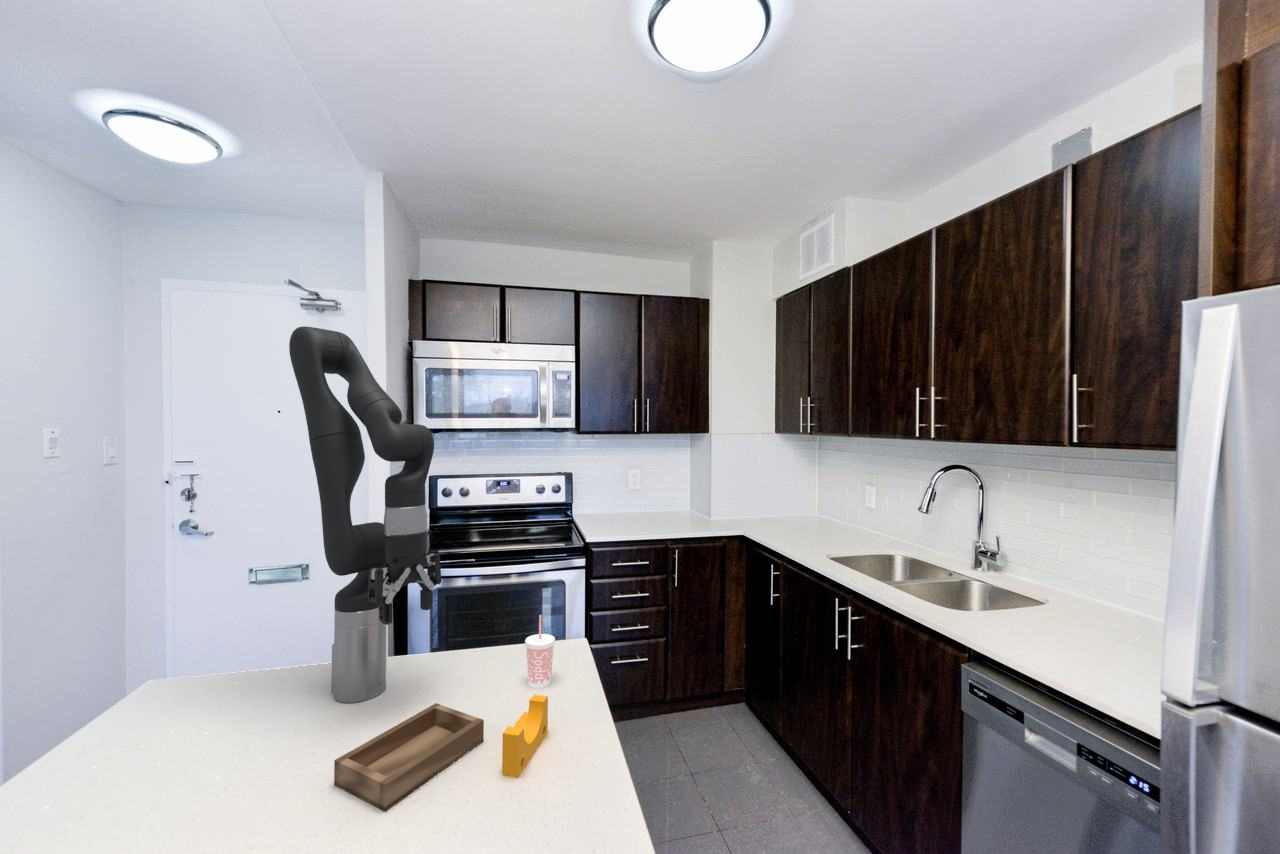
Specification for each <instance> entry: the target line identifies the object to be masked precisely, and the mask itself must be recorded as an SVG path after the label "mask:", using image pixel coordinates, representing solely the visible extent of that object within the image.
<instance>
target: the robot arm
mask: <svg viewBox="0 0 1280 854" xmlns="http://www.w3.org/2000/svg"><path fill="white" fill-rule="evenodd" d="M288 346H289V349H288V350H289V351H288V352H289V358H290V363H291V367H292V369H293V373H294V377H295V379H296V383H297V386H298V390H299V394H300V396H301V397H300V398H301V401H302V406H303V410H304V415H305V421H306V426H307V433H308V440H309V441H308V442H309V447H310V452H311V457H312V458H311V459H312V462H313V463H312V464H313V467H314V471H315V477H316V482H317V488H318V494H319V495H318V496H319V503H320V512H321V513H320V514H321V525H322V527H321V528H322V538H323V550H324V556H325V559H326V562H327V566H328V567H329V569H330V571H331V572H332V573H333V574H334V575H336V576H341V577H342V576H344V577H345V576H348V575H353V574H356V573H357V574H356V575H355V577H354V578H353V579H352V580H351V581H350V582H349V583H348V584H347V585H345V586H344V587H342V588H341V589H339V591H338V592H336V594H335V596H334V619H333V620H334V627H333V628H334V629H333V630H334V633H333V635H334V636H333V641H334V642H333V644H332V645H331V682H330V684H331V687H330V688H331V689H330V690H331V691H330V692H331V693H332V695H333V699H334V700H335V701H337V702H339V703H346V704H347V703H358V702H363V701H367V700H369V699H372V698H374V697H377V696H378V695H380V694H381V693H383V692H384V691H385V688H386V687H387V684H386V683H387V680H386V679H387V635H388V634H387V625H391V624H393V603H392V600H393V598H394V597H395V595H396V594H397V593H398V592H399V591H400V589H401V588H402V587H406V586H408V585H409V584H417V585H418V586H419V587H420V590H419V596H420V597H419V599H420V601H419V603H420V605H419V606H420V610H423V611H429V610H431V609H432V606H433V590H434V588H435V587H436V586H437V585H440V584H441V583H442V571H441V570H442V569H441V568H442V567H441V555H440V554H437V553H430V552H429V553H428V551H429V550H428V549H429V547H428V544H429V543H428V542H429V541H428V514H427V513H428V512H427V507H426V505H427V503H426V482H427V478H428V475H429V472H430V471H429V470H430V467H431V463H432V459H433V456H434V452H435V440H434V435H433V434H432V432H431V430H430V429H429V428H428V426H425V425H423V424H418V423H415V424H414V423H413V424H412V423H411V424H409V423H402V420H403V413H402V411H401V409H400V407H399V406H398V404H396V402H395V401H394V399H392V398H391V397H390V396H389V394H388V393H387V392H386V391H385V390H384V389H383V388H382V387H381V386H380V384H379V382H378V381H377V380H376V379H375V377H374V375H373V373H372V372H371V370H370V368H369V366H368V364H367V363H366V361H365V359H364V358H363V355H362V354H361V352H360V350H359V349H358V347H357V346H356V344H355V343H354V341H353V340H352V339H351V338H350V337H349V335H347V334H346V333H343V332H341V331H336V330H331V329H324V328H319V327H313V326H298V327H297V328H294V330H293V331H292V332H291V335H290V337H289V345H288ZM325 374H328V375H338V376H340V377H341V378H342V379H344V381H346V382H347V383H348V386H347V393H346V397H347V404H348V407H350V409H351V411H352V412H353V414H354V415H355V416H356V418H358V419H359V421H360V422H361V424H363V426H364V427H365V429H366V431H367V435H368V437H369V440H370V443H371V447H372V448H373V452H374V453H375V454H376V456H378V457H379V458H381V459H382V460H384V461H387V462H392V463H394V462H395V463H396V462H404V464H403V466H402V469H401V471H400V472H398V473H396V474H392V475H390V476H388V477H387V478H385V482H384V512H383V513H384V516H383V523H382V522H379V521H377V522H376V521H374V522H366V523H359V524H353V521H352V516H351V515H352V514H351V500H352V495H353V492H354V489H355V487H356V485H357V483H358V480H359V477H360V476H361V474H362V471H363V468H364V465H365V460H366V454H365V448H364V443H363V439H362V433H361V428H360V426H359V425H358V423H357V422H356V420H355V418H354V417H353V416H352V414H350V412H349V411H348V410H347V408H345V407H344V405H343V404H342V403H341V402H340V400H338V398H337V397H336V396H335V395H334V393H333V391H332V390H331V388H330V386H329V384H328V381H327V379H326V375H325ZM425 568H426V569H427V572H426V570H425ZM392 584H393V585H392Z"/></svg>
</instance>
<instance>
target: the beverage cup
mask: <svg viewBox="0 0 1280 854" xmlns="http://www.w3.org/2000/svg"><path fill="white" fill-rule="evenodd" d="M555 642H556V638H555V636H554V635H552V634H549V633H542V614H539V617H538V633H537V634H532V635H529V636H527V637H526V638H525V640H524V643H525V646H526V647H525V648H526V660H527V661H526V665H527V682H528V686H529V687H530V688H532V689H533V688H534V689H542V688H543V689H544V688H546V687H548V685H549V686H550V685H551V683H552V669H553V657H554V645H555V644H556V643H555Z"/></svg>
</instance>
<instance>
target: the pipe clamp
mask: <svg viewBox="0 0 1280 854" xmlns="http://www.w3.org/2000/svg"><path fill="white" fill-rule="evenodd" d="M548 704H549V697H548V695H539V694H533V695H532V696H531V697H530V698H529V702H528V711H527V712H526V711H524V712H523V713H522V714H521V715H520V717H519V718H518V719H517V721H515V724H514V726H507V727H506V729H505V730H504V731H503V732H502V744H501V745H502V753H501V754H502V755H501V756H502V759H501V761H502V765H501V766H502V767H501V775H502V776H504V777H512V778H519V777H520V775H521V774H522V773H523V771H524V770H525V767H526V766H527V765H528V763H529V762H530V760H531V759H532V757H533V755H534V754H535V753H536V751H537V750H538V748H539V746H540V745H541V743H542V742H543V740H544V739H545V738H546V736H547V735H548V732H549V731H548V729H549V728H548V725H549V724H548V718H549V717H548V715H549V714H548V713H549V710H548V708H549V706H548Z"/></svg>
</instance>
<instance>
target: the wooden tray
mask: <svg viewBox="0 0 1280 854" xmlns="http://www.w3.org/2000/svg"><path fill="white" fill-rule="evenodd" d="M484 721H485V720H484V719H483V718H480V717H477V716H474V715H471V714H468V713H465V712H462V711H460V710H456V709H454V708H450V707H448V706H446V705H442V704H439V703H436V702H435V703H434V704H432V705H430V706H428V707H426V708H425V709H423V710H421V711H419V712H417V713H416V714H414V715H412V716H410V717H409V718H407V719H405V720H403V721H402V722H401V721H400V723H398V724H396V725H394V726H393V727H391V728H389V729H388V730H386V731H383V732H382V733H380V734H378V735H377V736H375V737H373V738H372V739H369V740H368V741H366V742H364V743H362V744H361V745H359V746H358V747H355V748H354V749H352V750H350V751H348V752H347V753H345V754H343V755H341V756H339V757H337V758H336V759H334V760H333V761H334V766H333V767H334V768H333V769H334V771H333V772H334V773H333V779H334V780H333V781H334V782H333V785H334V786H335V787H338V788H339V789H341V790H343V791H345V792H347V793H349V794H351V795H353V796H355V797H357V798H359V799H360V800H362V801H364V802H366V803H368V804H370V805H371V806H374V807H376V808H378V809H380V810H382V811H383V812H387V811H389V810H390V809H391V808H393V807H394V806H395V805H397V804H399V803H400V802H402V800H403V799H405V798H406V797H408V796H409V795H411V794H412V793H413V792H415V791H416V790H418V789H419V788H420V787H422V786H423V785H425V784H426V783H428V782H429V781H430V780H431V779H434V777H436V776H437V775H439V774H440V773H441V772H443V771H444V770H445V768H446V767H447V768H449V767H450V766H451V765H453V764H454V763H455V762H457V761H458V760H460V759H461V758H463V757H464V756H465V755H466V754H465V753H467V752H468V751H469V752H471V751H472V750H473V749H472V748H474V747H475V748H476V747H478V746H480V745H481V744H482V743H483V742H484V741H485V740H484V738H485V737H484V734H485V733H484V729H485V727H484V726H485V724H484V723H485V722H484ZM481 742H482V743H481ZM480 743H481V744H480ZM477 745H478V746H477ZM475 748H474V749H475ZM471 749H472V750H471ZM470 750H471V751H470ZM469 752H468V753H469ZM468 753H467V754H468ZM464 754H465V755H464ZM463 755H464V756H463ZM460 757H461V758H460ZM459 758H460V759H459ZM457 759H458V760H457ZM456 760H457V761H456ZM453 762H454V763H453ZM452 763H453V764H452ZM450 764H451V765H450ZM449 765H450V766H449ZM447 768H446V769H447ZM442 770H443V771H442ZM439 772H440V773H439ZM438 773H439V774H438ZM435 775H436V776H435ZM417 788H418V789H417ZM414 790H415V791H414Z"/></svg>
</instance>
